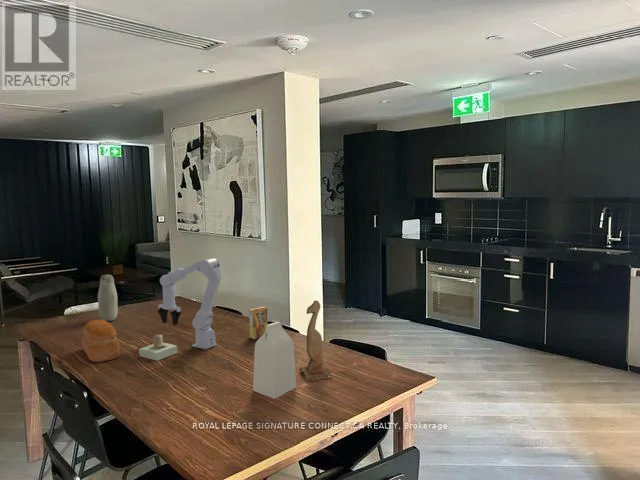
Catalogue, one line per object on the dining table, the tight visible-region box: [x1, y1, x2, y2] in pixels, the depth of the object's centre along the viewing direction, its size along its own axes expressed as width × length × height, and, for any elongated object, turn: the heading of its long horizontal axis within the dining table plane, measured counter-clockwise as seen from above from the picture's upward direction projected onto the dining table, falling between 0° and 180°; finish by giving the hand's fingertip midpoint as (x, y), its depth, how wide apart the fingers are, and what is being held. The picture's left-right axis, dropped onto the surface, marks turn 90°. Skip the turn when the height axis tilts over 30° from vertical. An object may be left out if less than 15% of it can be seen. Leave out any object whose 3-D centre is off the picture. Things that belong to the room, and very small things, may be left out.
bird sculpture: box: [299, 300, 332, 381], centre depth 191 cm, size 11×12×32 cm
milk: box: [252, 321, 297, 400], centre depth 178 cm, size 12×12×26 cm
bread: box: [81, 318, 121, 363], centre depth 221 cm, size 14×26×15 cm, turn 36°
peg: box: [152, 334, 164, 350], centre depth 219 cm, size 4×4×9 cm
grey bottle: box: [97, 274, 119, 322], centre depth 277 cm, size 10×10×28 cm
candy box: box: [248, 306, 268, 340], centre depth 245 cm, size 9×4×15 cm, turn 129°
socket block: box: [138, 342, 178, 362], centre depth 219 cm, size 12×12×4 cm
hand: (169, 324), depth 237 cm, fingers open, 7 cm apart
